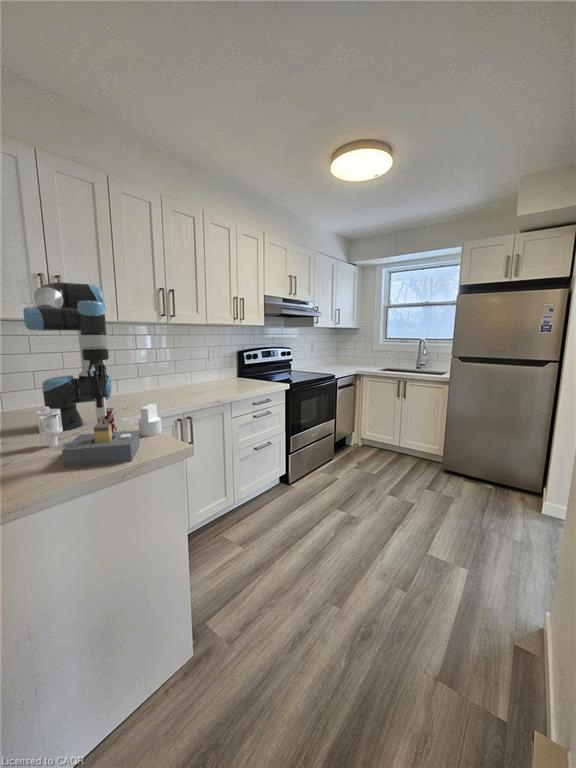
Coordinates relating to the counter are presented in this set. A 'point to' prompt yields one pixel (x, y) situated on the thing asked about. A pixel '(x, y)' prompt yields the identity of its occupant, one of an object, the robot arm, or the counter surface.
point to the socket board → (101, 449)
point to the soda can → (109, 419)
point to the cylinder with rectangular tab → (149, 421)
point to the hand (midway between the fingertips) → (101, 415)
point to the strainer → (50, 425)
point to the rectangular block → (103, 433)
